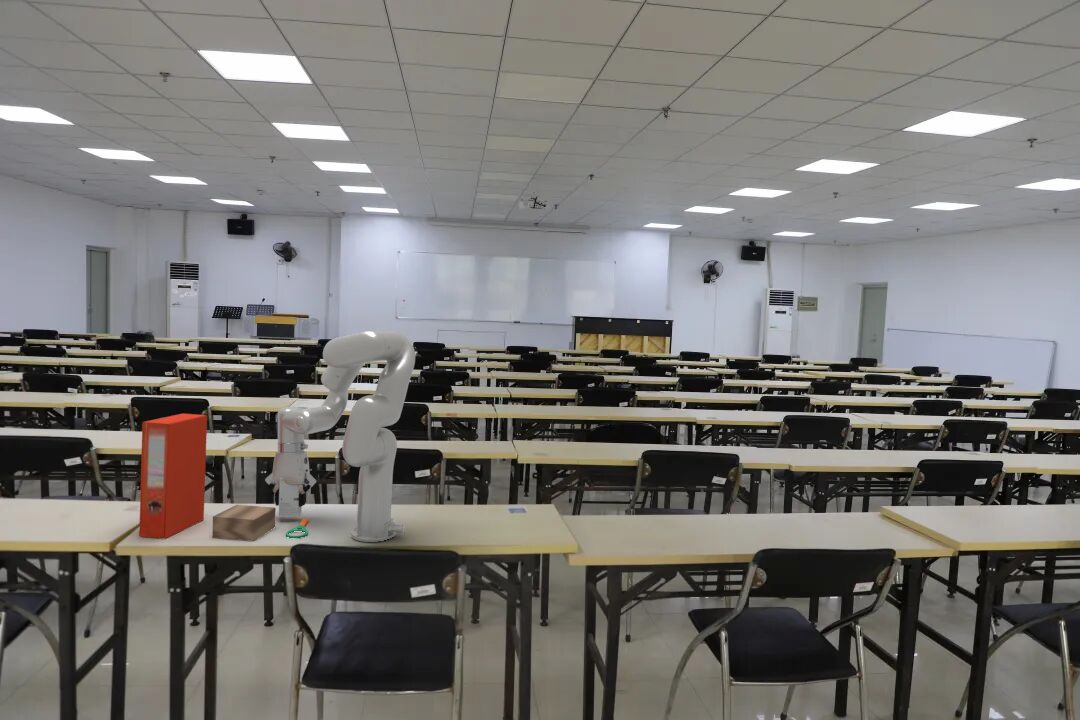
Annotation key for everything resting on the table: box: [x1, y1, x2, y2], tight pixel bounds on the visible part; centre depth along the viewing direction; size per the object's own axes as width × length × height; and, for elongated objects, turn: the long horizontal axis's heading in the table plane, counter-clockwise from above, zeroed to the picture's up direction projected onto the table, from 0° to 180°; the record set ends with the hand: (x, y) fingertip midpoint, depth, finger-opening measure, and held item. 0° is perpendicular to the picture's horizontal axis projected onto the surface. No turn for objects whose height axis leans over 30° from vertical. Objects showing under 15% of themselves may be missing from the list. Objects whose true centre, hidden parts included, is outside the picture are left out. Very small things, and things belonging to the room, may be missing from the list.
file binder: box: [138, 413, 208, 540], centre depth 184 cm, size 8×17×32 cm, turn 176°
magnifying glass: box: [285, 517, 309, 539], centre depth 188 cm, size 15×6×2 cm, turn 9°
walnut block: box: [211, 504, 277, 541], centre depth 184 cm, size 12×12×6 cm
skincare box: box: [277, 478, 302, 518], centre depth 197 cm, size 6×4×12 cm
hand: (290, 504), depth 197 cm, fingers closed on skincare box, 6 cm apart
